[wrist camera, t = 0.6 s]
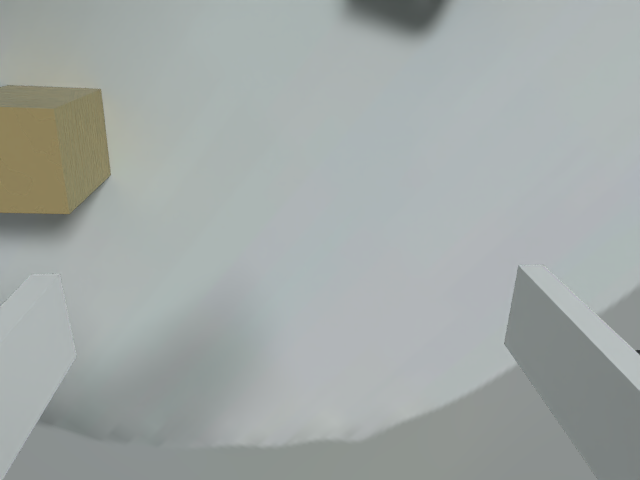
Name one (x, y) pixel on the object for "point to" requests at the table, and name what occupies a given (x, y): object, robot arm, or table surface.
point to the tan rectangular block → (50, 148)
